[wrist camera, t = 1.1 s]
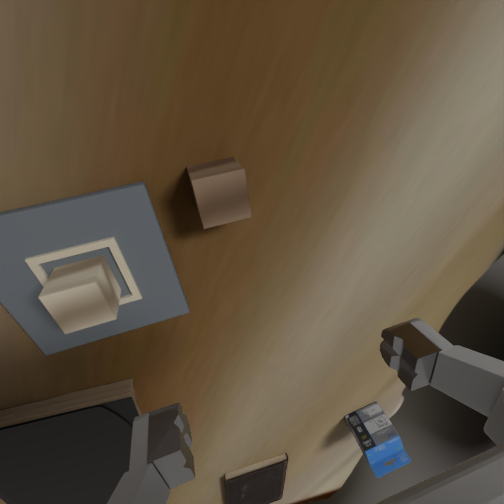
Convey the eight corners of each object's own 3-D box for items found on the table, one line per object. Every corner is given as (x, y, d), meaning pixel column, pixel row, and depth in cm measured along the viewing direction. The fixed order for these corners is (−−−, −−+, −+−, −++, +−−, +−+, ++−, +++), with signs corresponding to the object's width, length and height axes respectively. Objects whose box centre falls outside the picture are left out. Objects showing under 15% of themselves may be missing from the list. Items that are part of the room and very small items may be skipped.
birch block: (54, 267, 30) (38, 297, 26) (103, 254, 31) (95, 282, 27) (76, 302, 33) (65, 334, 28) (121, 289, 33) (116, 319, 29)
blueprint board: (-55, 224, 26) (-65, 231, 25) (144, 181, 29) (143, 185, 28) (48, 349, 36) (45, 358, 35) (188, 307, 39) (189, 314, 38)
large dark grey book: (170, 494, 57) (34, 539, 52) (170, 471, 60) (42, 510, 55) (133, 399, 40) (-78, 451, 34) (135, 374, 43) (-56, 417, 38)
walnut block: (186, 166, 30) (191, 180, 25) (232, 156, 30) (244, 168, 26) (197, 210, 32) (203, 229, 28) (239, 200, 33) (251, 216, 29)
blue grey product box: (376, 400, 70) (414, 454, 60) (376, 407, 72) (412, 461, 62) (344, 415, 69) (376, 472, 59) (345, 422, 72) (376, 479, 61)
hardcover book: (226, 508, 79) (228, 518, 77) (223, 471, 67) (224, 482, 65) (280, 488, 83) (283, 498, 81) (285, 450, 71) (289, 460, 69)
